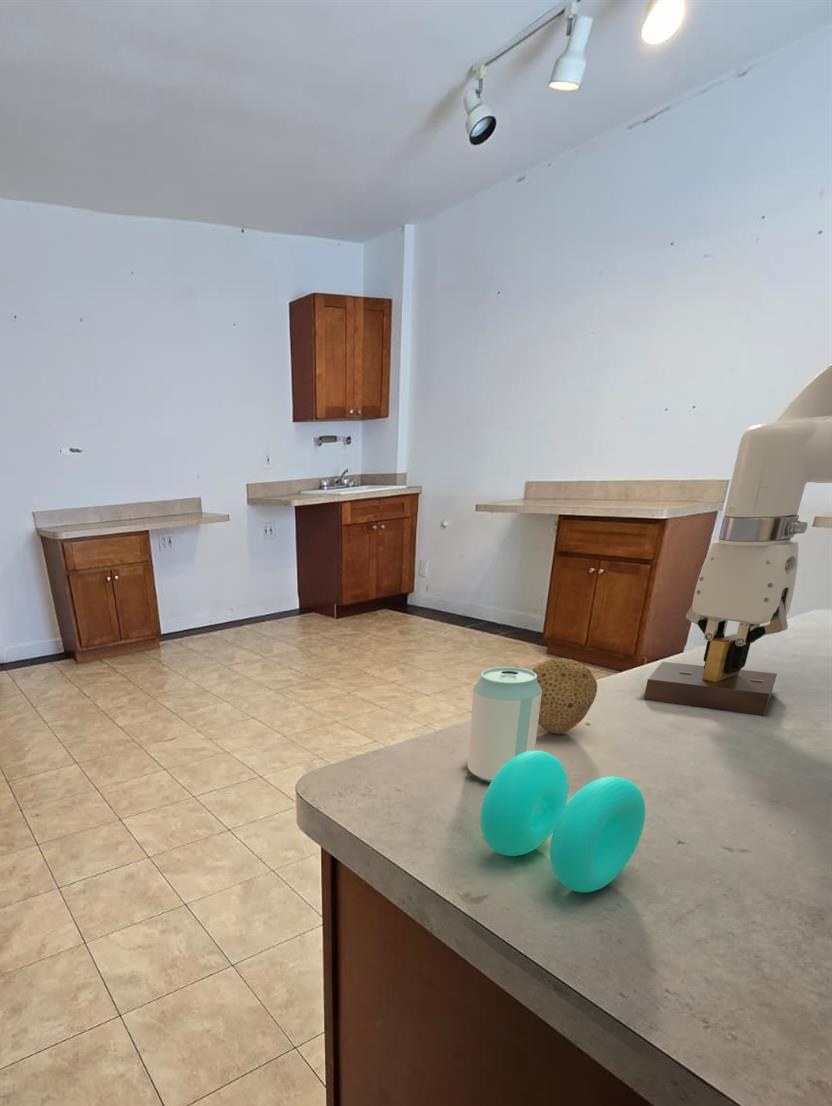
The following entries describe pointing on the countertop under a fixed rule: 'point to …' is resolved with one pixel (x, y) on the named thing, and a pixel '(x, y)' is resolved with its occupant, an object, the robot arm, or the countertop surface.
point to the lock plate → (710, 688)
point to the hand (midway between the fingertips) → (722, 668)
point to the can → (502, 719)
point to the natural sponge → (564, 693)
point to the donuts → (563, 819)
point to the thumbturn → (718, 659)
